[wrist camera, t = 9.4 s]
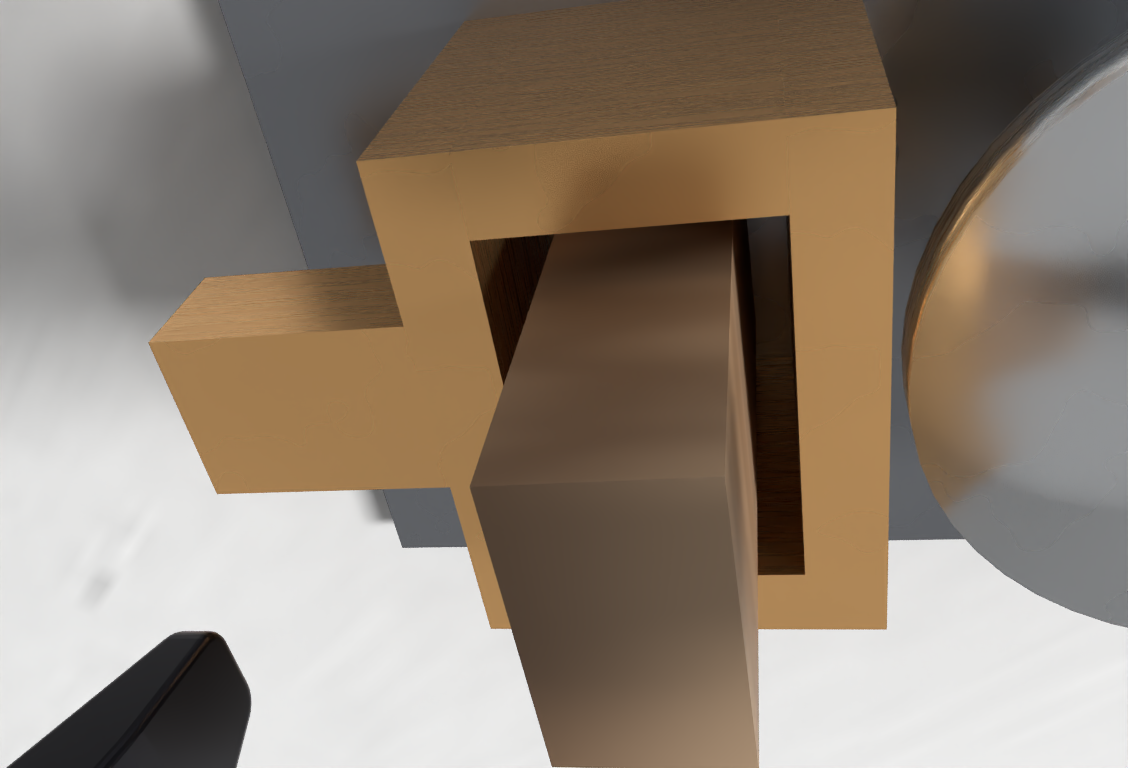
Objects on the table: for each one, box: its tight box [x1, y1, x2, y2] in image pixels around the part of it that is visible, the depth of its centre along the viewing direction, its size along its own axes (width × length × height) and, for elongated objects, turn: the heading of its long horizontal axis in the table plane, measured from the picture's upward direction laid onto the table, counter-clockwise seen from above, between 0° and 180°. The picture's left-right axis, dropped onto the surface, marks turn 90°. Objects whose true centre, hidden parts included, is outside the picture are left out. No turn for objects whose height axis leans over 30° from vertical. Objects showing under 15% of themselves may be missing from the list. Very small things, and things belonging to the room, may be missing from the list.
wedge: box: [470, 219, 759, 768], centre depth 15 cm, size 2×4×10 cm, turn 10°
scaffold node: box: [149, 0, 1128, 629], centre depth 16 cm, size 21×16×9 cm
